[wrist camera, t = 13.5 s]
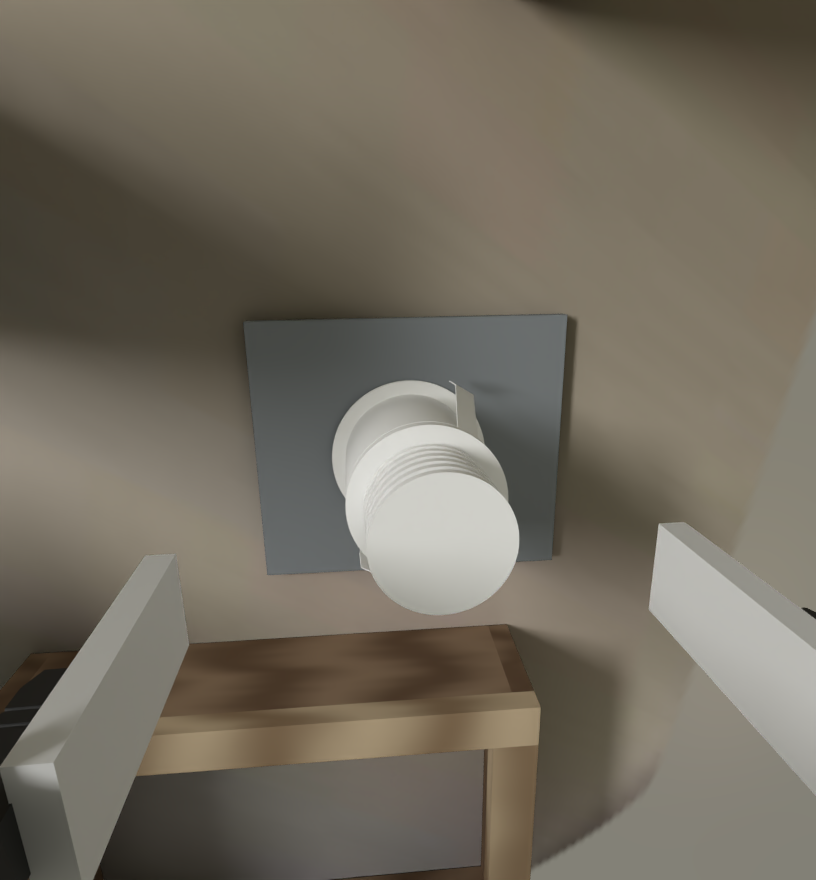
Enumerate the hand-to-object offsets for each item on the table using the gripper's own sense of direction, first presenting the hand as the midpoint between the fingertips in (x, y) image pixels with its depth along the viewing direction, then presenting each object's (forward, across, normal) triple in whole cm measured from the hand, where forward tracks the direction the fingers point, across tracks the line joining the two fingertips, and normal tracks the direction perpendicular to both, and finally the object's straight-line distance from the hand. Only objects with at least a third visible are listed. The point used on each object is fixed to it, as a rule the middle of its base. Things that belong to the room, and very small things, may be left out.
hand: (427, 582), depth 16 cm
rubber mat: (+12, +1, 0) cm, 12 cm away
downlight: (+12, +1, 0) cm, 12 cm away
